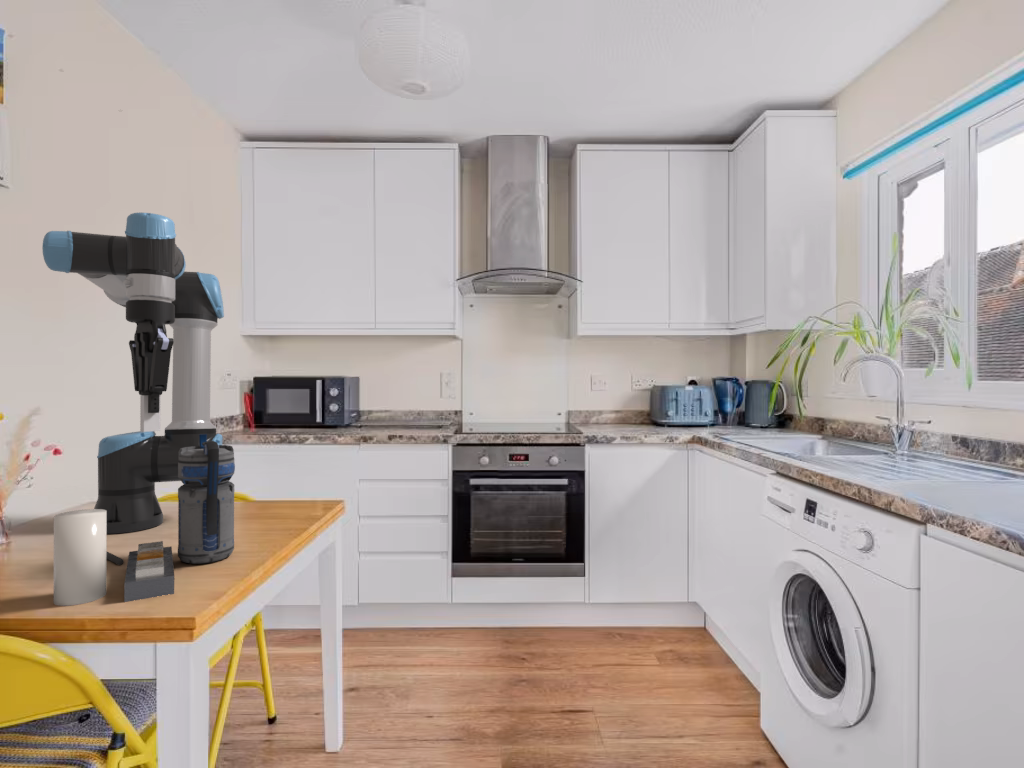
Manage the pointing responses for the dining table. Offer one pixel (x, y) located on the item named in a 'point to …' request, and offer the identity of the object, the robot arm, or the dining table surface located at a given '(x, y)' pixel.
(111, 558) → the dark gray rod
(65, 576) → the white glossy cylinder
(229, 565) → the dining table surface
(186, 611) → the dining table surface
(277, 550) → the dining table surface
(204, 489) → the beverage bottle
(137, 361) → the robot arm
